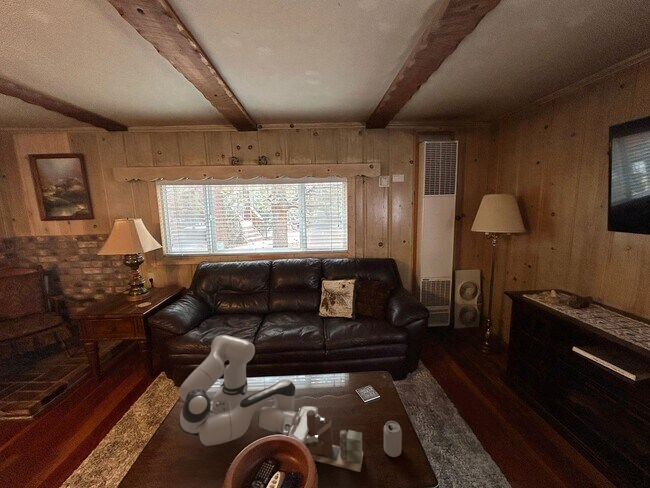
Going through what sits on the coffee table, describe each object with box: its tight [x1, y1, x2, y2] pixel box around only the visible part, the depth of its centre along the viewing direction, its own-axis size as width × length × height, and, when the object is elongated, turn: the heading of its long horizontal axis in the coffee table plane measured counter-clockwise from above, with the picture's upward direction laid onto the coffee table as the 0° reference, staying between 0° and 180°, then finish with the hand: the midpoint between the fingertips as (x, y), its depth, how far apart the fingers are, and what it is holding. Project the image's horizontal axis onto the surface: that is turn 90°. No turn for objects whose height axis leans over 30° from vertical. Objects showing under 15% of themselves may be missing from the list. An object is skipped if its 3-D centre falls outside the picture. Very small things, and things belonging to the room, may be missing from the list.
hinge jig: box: [312, 429, 364, 473], centre depth 113 cm, size 24×8×12 cm, turn 74°
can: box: [383, 420, 403, 458], centre depth 115 cm, size 8×8×12 cm
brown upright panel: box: [306, 410, 334, 456], centre depth 114 cm, size 4×11×18 cm, turn 79°
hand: (321, 429), depth 114 cm, fingers open, 8 cm apart
